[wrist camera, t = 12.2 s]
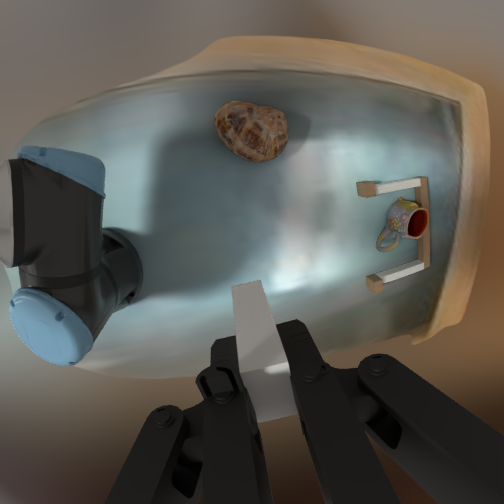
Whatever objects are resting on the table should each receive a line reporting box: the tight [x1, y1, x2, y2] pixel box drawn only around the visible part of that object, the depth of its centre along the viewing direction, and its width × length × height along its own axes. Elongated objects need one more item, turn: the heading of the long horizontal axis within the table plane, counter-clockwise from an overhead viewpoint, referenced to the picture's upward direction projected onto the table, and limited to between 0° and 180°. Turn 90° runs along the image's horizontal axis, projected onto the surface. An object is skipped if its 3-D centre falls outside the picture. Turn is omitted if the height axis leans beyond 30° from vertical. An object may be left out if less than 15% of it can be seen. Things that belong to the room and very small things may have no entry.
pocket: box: [356, 176, 430, 294], centre depth 48 cm, size 16×21×3 cm
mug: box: [376, 197, 429, 252], centre depth 46 cm, size 12×7×7 cm, turn 130°
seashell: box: [214, 101, 288, 162], centre depth 39 cm, size 10×9×10 cm
